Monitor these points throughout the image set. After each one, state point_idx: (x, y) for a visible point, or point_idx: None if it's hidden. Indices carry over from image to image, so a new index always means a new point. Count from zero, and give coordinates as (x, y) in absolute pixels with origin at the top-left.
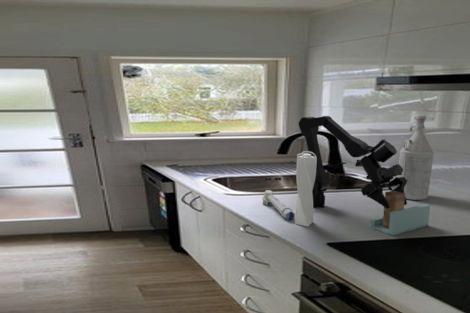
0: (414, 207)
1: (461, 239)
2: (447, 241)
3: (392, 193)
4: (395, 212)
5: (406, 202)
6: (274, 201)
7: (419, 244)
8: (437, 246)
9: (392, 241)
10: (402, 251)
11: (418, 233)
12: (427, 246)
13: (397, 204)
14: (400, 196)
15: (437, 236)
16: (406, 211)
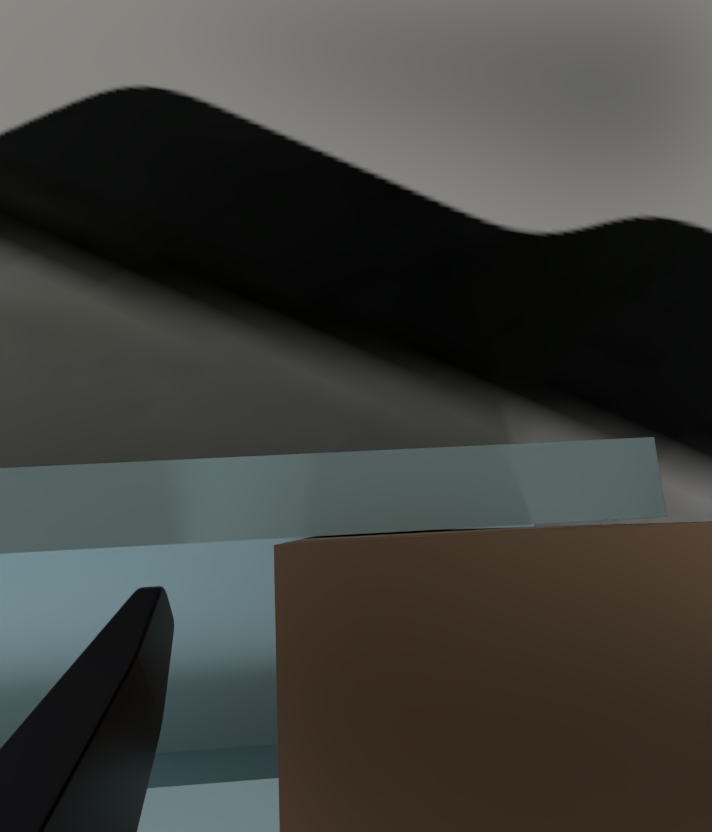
0: (35, 515)
1: (4, 159)
2: (164, 186)
3: (698, 774)
4: (598, 465)
5: (142, 600)
6: None
7: (449, 248)
8: (345, 165)
9: (622, 387)
10: (692, 225)
11: (225, 409)
12: (422, 198)
13: (528, 528)
14: (503, 531)
15: (130, 287)
16: (338, 454)
